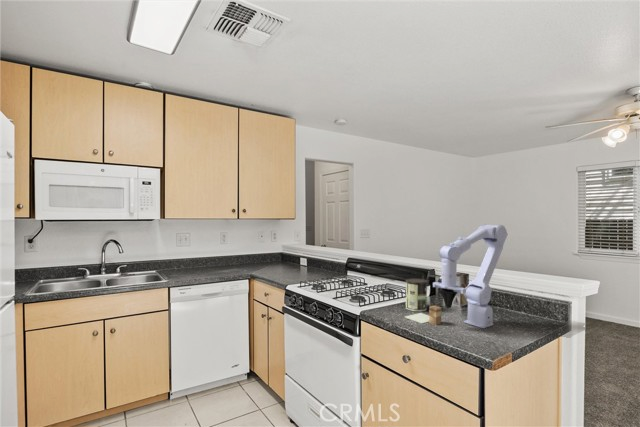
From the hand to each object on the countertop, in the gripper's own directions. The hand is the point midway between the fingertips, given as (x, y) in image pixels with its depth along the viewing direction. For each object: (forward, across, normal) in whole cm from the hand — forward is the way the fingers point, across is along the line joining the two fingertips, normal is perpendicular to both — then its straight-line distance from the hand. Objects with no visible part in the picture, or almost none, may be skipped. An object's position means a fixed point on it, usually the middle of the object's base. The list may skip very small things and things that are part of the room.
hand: (448, 307), depth 143 cm
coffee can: (+9, -26, +10) cm, 29 cm away
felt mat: (+8, -14, 0) cm, 16 cm away
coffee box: (+9, -18, +35) cm, 41 cm away
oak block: (+8, -6, 0) cm, 11 cm away
